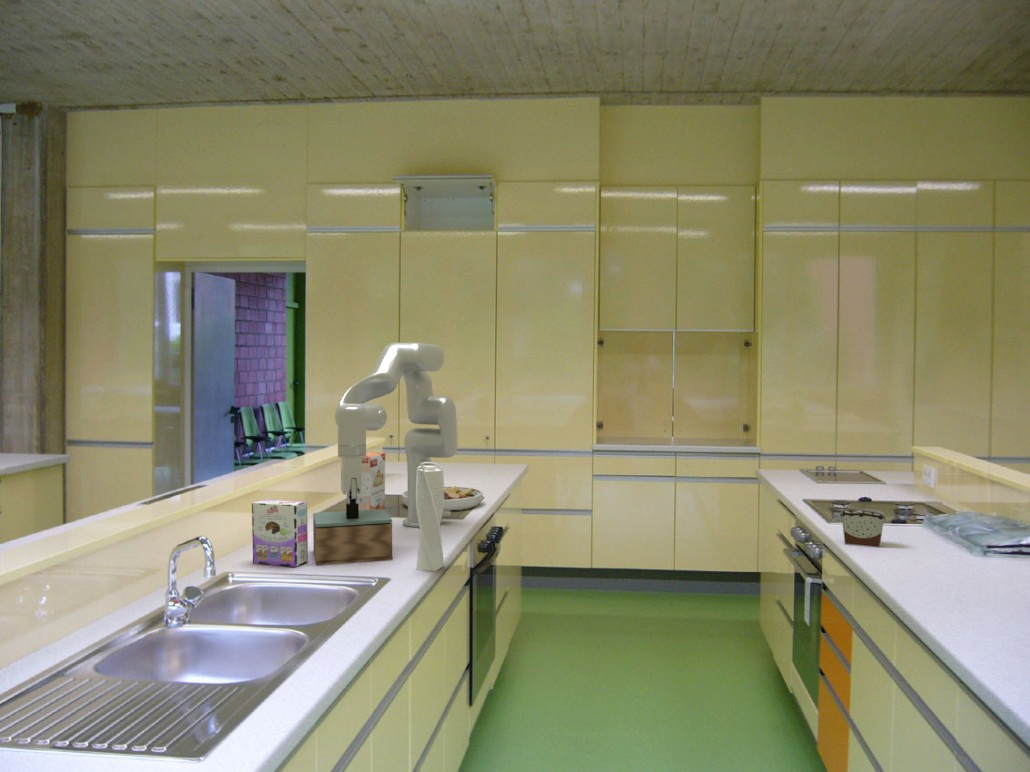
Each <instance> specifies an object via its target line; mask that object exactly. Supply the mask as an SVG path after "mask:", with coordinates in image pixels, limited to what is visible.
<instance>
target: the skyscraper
mask: <svg viewBox="0 0 1030 772" xmlns="http://www.w3.org/2000/svg"><path fill="white" fill-rule="evenodd" d="M423 464H434V465H435V466H431V465H425V466H423ZM424 467H425V469H424ZM419 468H422V469H419ZM444 481H445V479H444V469H443V468H442V466H441V465H440V464H439V463H437V462H434V461H432V462H423V463H421V466H419V467H417V476H416V508H417V516H418V522H419V527H418V528H419V537H418V547H417V557H416V558H417V559H416V560H417V561H416V570H418V571H419V570H420V571H428V572H436V571H437V570H439V569H441V568H444V567H445V562H444V552H443V543H442V542H443V541H442V534H441V533H442V532H441V528H440V525H441V524H440V522H441V523H442V518H443V517H442V512H443V504H444V487H445V482H444ZM441 517H442V518H441Z"/></svg>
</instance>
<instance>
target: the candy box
mask: <svg viewBox="0 0 1030 772" xmlns="http://www.w3.org/2000/svg"><path fill="white" fill-rule="evenodd" d="M251 522H252V523H251V524H252V526H251V529H252V531H251V533H252V536H251V537H252V563H253V564H255V563H256V565H257V564H258V565H268V566H278V567H279V566H280V567H291V568H295V567H296V568H297V567H299V566H301V565H304V564H307V563H308V562H309V547H308V546H309V545H308V543H309V542H308V539H309V535H308V529H309V528H308V527H309V526H308V502H307V501H296V500H281V499H280V500H279V499H262V500H258V501H253V502H251Z"/></svg>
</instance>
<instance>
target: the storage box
mask: <svg viewBox="0 0 1030 772" xmlns="http://www.w3.org/2000/svg"><path fill="white" fill-rule="evenodd" d="M312 520H313V521H312V522H313V523H312V524H313V525H312V526H313V527H312V529H313V534H312V535H313V537H312V539H313V543H312V544H313V545H312V546H313V554H314V560H315V565H316V566H320V565H332V564H333V565H334V564H346V563H348V564H349V563H361V562H373V561H387V560H388V561H389V560H393V522H392V523H379V524H362V525H345V526H329V527H316V526H315V521H314V517H313V516H312Z"/></svg>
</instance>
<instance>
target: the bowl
mask: <svg viewBox="0 0 1030 772" xmlns="http://www.w3.org/2000/svg"><path fill="white" fill-rule="evenodd" d="M483 494H484V493H483V491H481V490H480V489H478V488H473V487H464V486H461V487H460V486H444V504H443V510H454V509H463V508H469V507H473V508H475V507H477V506H478V505H480V503H481V502H482V500H483V497H484V495H483ZM401 499H402V502H403V504H404V505H405V506H408V490H406V491H403V492H402V493H401ZM474 506H475V507H474Z"/></svg>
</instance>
